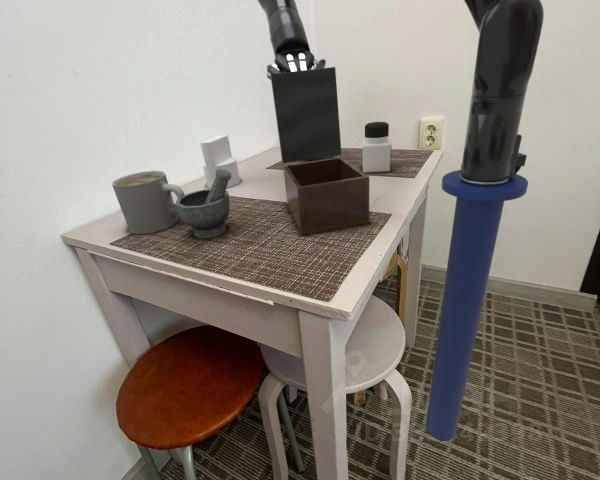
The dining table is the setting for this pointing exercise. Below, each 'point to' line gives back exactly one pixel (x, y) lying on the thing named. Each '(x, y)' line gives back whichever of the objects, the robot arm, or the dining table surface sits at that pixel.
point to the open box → (326, 195)
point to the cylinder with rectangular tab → (219, 159)
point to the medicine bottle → (376, 148)
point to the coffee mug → (147, 201)
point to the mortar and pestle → (207, 207)
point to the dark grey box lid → (307, 114)
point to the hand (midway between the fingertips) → (305, 103)
